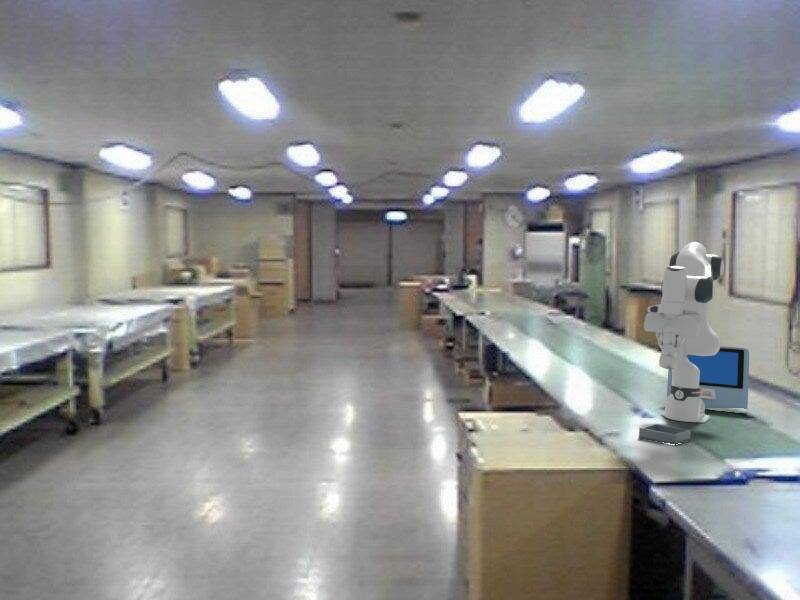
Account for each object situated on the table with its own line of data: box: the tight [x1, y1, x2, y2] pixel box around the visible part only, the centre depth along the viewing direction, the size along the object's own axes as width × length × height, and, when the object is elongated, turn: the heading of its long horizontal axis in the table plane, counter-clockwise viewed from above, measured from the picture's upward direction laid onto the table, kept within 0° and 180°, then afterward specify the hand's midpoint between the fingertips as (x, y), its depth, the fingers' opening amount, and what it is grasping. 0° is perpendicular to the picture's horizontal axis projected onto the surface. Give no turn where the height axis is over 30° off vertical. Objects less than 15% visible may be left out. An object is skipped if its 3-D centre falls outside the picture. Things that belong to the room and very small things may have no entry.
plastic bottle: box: [658, 319, 680, 370], centre depth 297 cm, size 6×7×20 cm
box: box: [638, 423, 692, 445], centre depth 298 cm, size 14×14×4 cm
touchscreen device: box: [666, 345, 750, 410], centre depth 374 cm, size 35×20×30 cm, turn 73°
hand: (669, 346), depth 297 cm, fingers closed on plastic bottle, 6 cm apart
